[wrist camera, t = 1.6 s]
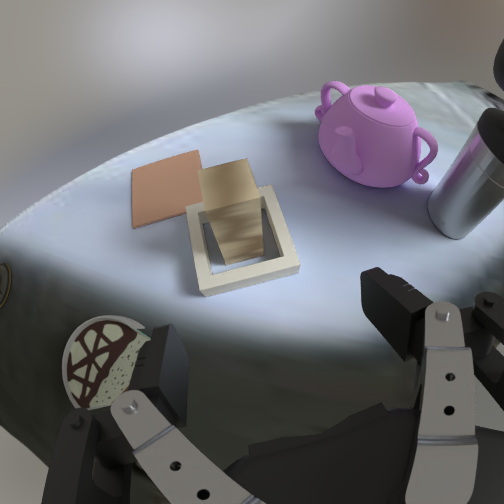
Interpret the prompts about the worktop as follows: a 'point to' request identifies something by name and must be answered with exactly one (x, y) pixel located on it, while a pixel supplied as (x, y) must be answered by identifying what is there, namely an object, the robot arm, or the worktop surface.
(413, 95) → the worktop surface
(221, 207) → the beech block
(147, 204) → the mat
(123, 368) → the cream brown half-disc piece
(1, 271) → the apothecary jar
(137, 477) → the worktop surface
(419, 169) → the teapot
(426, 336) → the robot arm
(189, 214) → the collar frame
